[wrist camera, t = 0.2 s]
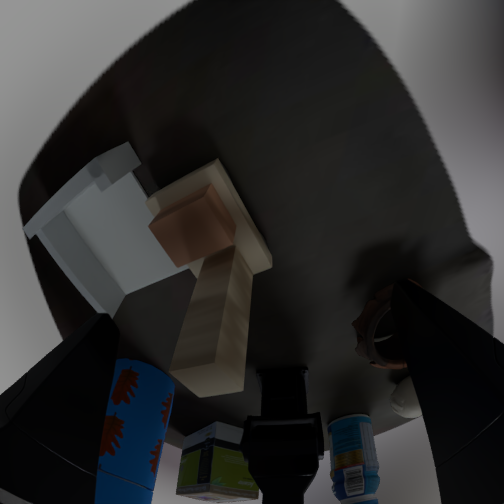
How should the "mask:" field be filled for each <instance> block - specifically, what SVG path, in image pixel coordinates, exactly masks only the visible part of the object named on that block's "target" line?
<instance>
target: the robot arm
mask: <svg viewBox="0 0 504 504" xmlns="http://www.w3.org/2000/svg"><path fill="white" fill-rule="evenodd" d="M390 307H391V311H392V315H393V319H394V322H395V326H396V330H397V334H398V338H399V342H400V346H401V350H402V353H403V356H404V359H405V362H406V365H407V368H408V371H409V373H410V376H411V379H412V382H413V386H414V389H415V392H416V395H417V398H418V402H419V405H420V408H421V412H422V415H423V419H424V422H425V426H426V430H427V434H428V437H429V442H430V446H431V450H432V454H433V459H434V463H435V467H436V474H437V479H438V485H439V491H440V496H441V503H442V504H504V344H503V343H501V342H500V341H499V340H498V339H496V338H495V337H494V338H493V336H492V335H491V334H489V333H488V332H486V331H485V330H484V329H482V328H481V327H479V326H478V325H477V324H475V323H474V322H472V321H471V320H469V319H468V318H467V317H465V316H464V315H462V314H461V313H459V312H458V311H456V310H455V309H453V308H452V307H450V306H449V305H447V304H446V303H444V302H443V301H441V300H440V299H438V298H437V297H435V296H434V295H432V294H431V293H429V292H427V291H426V290H424V289H423V288H421V287H420V286H418V285H417V284H415V283H413V282H412V281H410V280H408V279H403V280H397V281H395V282H394V285H393V290H392V296H391V302H390ZM119 338H120V332H119V329H118V327H117V326H116V324H115V323H114V321H113V319H112V318H111V316H110V315H109V314H108V313H97V314H95V315H94V316H93V317H92V318H90V319H89V320H88V321H87V322H85V323H84V324H83V325H82V326H80V327H79V328H78V329H77V330H76V331H74V332H73V333H72V334H71V335H70V336H68V337H67V338H66V339H65V340H64V341H62V342H61V343H60V344H59V345H58V346H57V347H55V348H54V349H53V350H52V351H51V352H49V353H48V354H47V355H46V356H45V357H44V358H42V359H41V360H40V361H39V362H38V363H37V364H36V365H34V366H33V367H32V368H31V369H30V370H29V371H28V372H27V373H25V374H24V375H23V376H22V377H21V378H20V379H19V380H17V382H15V383H14V384H13V385H12V386H11V387H9V388H8V389H7V390H6V391H4V392H3V393H2V394H1V395H0V504H95V493H96V481H97V470H98V462H99V454H100V447H101V440H102V434H103V428H104V422H105V417H106V411H107V406H108V401H109V396H110V391H111V387H112V382H113V377H114V372H115V365H116V358H117V351H118V344H119ZM256 376H257V379H258V383H259V387H260V391H261V394H262V400H261V416H248V417H247V420H246V421H244V429H243V435H242V438H241V442H240V445H239V451H240V452H241V453H242V454H243V457H244V461H245V462H246V463H248V471H249V473H250V474H251V476H252V478H253V479H254V481H255V483H256V484H257V486H258V487H259V489H260V490H261V492H262V493H263V500H262V504H304V493H305V492H306V490H307V489H308V487H309V486H310V484H311V482H312V481H313V479H314V477H315V476H316V473H317V470H318V468H319V460H322V459H323V457H324V438H323V430H322V423H321V417H320V412H316V413H313V414H307V399H306V394H307V393H308V368H307V367H301V368H289V369H275V370H259V371H257V373H256Z"/></svg>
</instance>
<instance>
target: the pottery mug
mask: <svg viewBox="0 0 504 504" xmlns="http://www.w3.org/2000/svg"><path fill="white" fill-rule="evenodd" d="M408 280H410V281H412V282H413V283H415V284H417V285H418V286H420V287H421V288H422V286H421V285H419V284H418V283H417V282H415V281H413V280H411V279H408ZM393 285H394V283H393V284H391V285H388V286H386V287H384V288H383V289H381V290H380V291H378V292H376V293H375V294H374V296H373V297H374V300H369V301H368V302H367V304H366V305H365V307H364V310H363V311H362V313H361V315H360V316H359V317H358V318H357V319H356V320H355V321H353V323H352V326H354V328H355V329H356V330H357V331H358V332H359V333H360V334H361V335H362V337H363V338H361V337H358V338H357V342H358V344H357V347H356V348H355V350H356V352H357V354H358V355H359V356H362V357H364V358H367V359H369V360H373V361H371V362H370V365H372V366H375V367H378V368H389V369H402V368H407V365H406V362H405V359H404V356H403V353H402V350H401V346H400V342H399V338H398V334H397V332H396V333H395V334H394V335H392V336H391V337H390V338H388V339H386V340H383V341H380V342H374V334H375V331H376V327H377V325H378V323H379V321H380V319H381V318H382V317H383V316H384V315H385V313H386V312H388V311H389V310H390V309H391V307H390V302H391V296H392V290H393Z"/></svg>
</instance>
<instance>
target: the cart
mask: <svg viewBox="0 0 504 504" xmlns="http://www.w3.org/2000/svg"><path fill="white" fill-rule="evenodd" d="M144 203H145V204H146V206H147V207H148V209H149V210H150V212H151V213H152V215H153V216H154V219H153V220H152V221H151V223H150V224H149V225H148V228H149V229H150V230H151V232H152V233H153V235H154V236H155V238H156V239H157V241H158V242H159V243H160V245H161V246H162V248H163V249H164V250H165V252H166V253H167V255H168V256H169V257H170V259H171V260H172V262H173V263H174V264H175V266H176V267H177V268H179V267H181V266H183V265H186V264H187V266H188V267H189V268H190V270H191V271H192V272H193V274H194V275H195V277H196V278H197V282H196V285H195V288H194V291H193V294H192V297H191V300H190V303H189V306H188V310H187V313H186V316H185V319H184V322H183V325H182V329H181V332H180V335H179V338H178V342H177V345H176V348H175V352H174V355H173V358H172V362H171V365H170V369H169V372H170V373H171V374H172V375H173V376H174V377H175V378H176V379H178V380H179V381H180V382H181V383H182V384H183V385H185V386H186V387H187V388H188V389H189V390H191V391H192V392H193V393H194V394H196V395H197V396H198V397H199V398H201V397H208V396H215V395H222V394H228V393H234V392H239V391H243V387H244V375H245V364H246V352H247V340H248V328H249V316H250V304H251V292H252V280H253V275H254V274H256V273H259V272H262V271H264V270H267V269H270V268H272V255H271V253H270V252H269V249H268V245H267V243H266V240H265V238H264V237H263V235H262V234H261V233H259V231H258V230H257V228H256V226H255V224H254V222H253V220H252V219H251V217H250V215H249V213H248V211H247V209H246V208H245V206H244V204H243V202H242V200H241V199H240V197H239V195H238V193H237V191H236V190H235V188H234V186H233V184H232V181H231V178H230V175H229V173H228V171H227V169H226V168H225V166H224V165H223V164H222V163H221V162H220V161H219V159H218V158H217V159H215V160H214V161H212V162H210V163H208V164H206V165H204V166H202V167H200V168H198V169H196V170H195V171H193V172H191V173H189V174H187V175H185V176H184V177H182V178H180V179H178V180H176V181H175V182H173V183H171V184H169V185H168V186H166V187H164V188H162V189H161V190H159V191H157V192H156V193H154V194H152V195H151V196H150V197H149V198H148V199H147V200H146V201H145V202H144Z"/></svg>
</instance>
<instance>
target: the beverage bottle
mask: <svg viewBox="0 0 504 504" xmlns="http://www.w3.org/2000/svg"><path fill="white" fill-rule="evenodd" d="M327 429H328V436H329V447H330V461H331V472H330V477H331V479H332V481H333V486H332V491H333V493H334V495H335V496H336V498H337V499H338V500H339V501H340V502H341V504H378V499H377V498H373V496H374V494H375V492H376V490H377V488H378V486H379V482H380V477H379V476H378V474H377V472H378V469H379V463H378V461H377V455H376V449H375V444H374V437H373V431H372V426H371V419H370V417H369V416H368V415H365V414H352V415H347V416H343V417H340V418H338V419H335V420H334V421H332V422H331V423H330V424H329V425H328V428H327Z"/></svg>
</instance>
